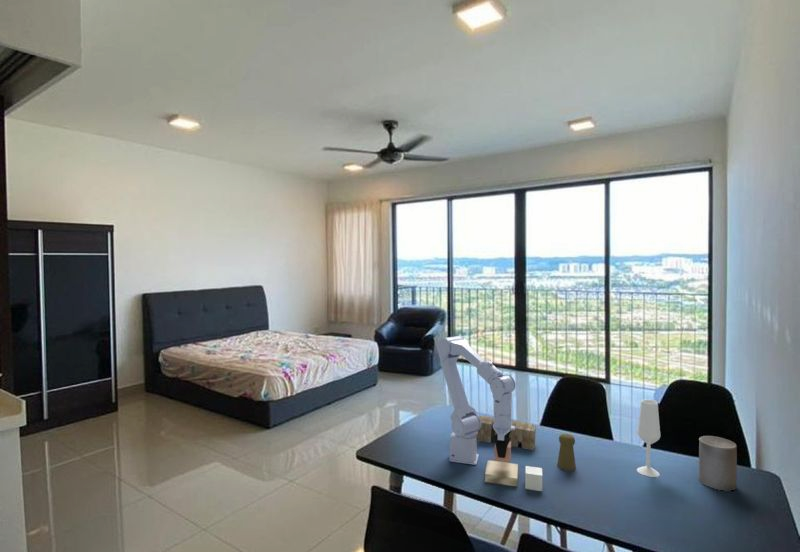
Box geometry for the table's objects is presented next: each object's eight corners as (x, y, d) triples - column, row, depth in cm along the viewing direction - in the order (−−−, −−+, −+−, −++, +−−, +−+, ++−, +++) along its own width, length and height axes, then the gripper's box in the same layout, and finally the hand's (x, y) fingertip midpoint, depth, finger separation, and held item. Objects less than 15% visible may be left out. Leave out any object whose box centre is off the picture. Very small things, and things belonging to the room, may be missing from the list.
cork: (577, 471, 143) (578, 439, 142) (558, 469, 144) (559, 437, 144) (574, 463, 149) (574, 432, 148) (555, 461, 150) (556, 430, 150)
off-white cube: (525, 489, 132) (525, 473, 131) (525, 481, 136) (525, 465, 136) (542, 491, 130) (542, 475, 130) (541, 483, 135) (541, 468, 135)
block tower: (535, 445, 166) (463, 430, 178) (536, 424, 165) (464, 411, 178) (533, 453, 159) (458, 437, 171) (534, 431, 158) (459, 417, 170)
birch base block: (484, 483, 136) (485, 473, 136) (487, 468, 145) (487, 460, 145) (517, 488, 133) (517, 478, 133) (517, 473, 142) (517, 464, 142)
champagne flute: (658, 469, 144) (659, 400, 143) (661, 478, 138) (662, 406, 137) (635, 465, 147) (637, 397, 146) (637, 474, 141) (638, 403, 140)
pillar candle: (729, 479, 138) (729, 433, 138) (742, 494, 129) (742, 445, 128) (694, 474, 141) (694, 430, 141) (704, 489, 132) (704, 441, 132)
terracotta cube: (494, 460, 137) (494, 445, 137) (495, 454, 142) (495, 439, 142) (510, 462, 136) (510, 447, 136) (510, 456, 141) (510, 441, 140)
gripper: (514, 421, 130) (513, 465, 131) (515, 406, 144) (515, 446, 145) (491, 419, 132) (490, 462, 133) (494, 404, 146) (494, 443, 147)
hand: (502, 453), depth 139 cm, fingers closed on terracotta cube, 5 cm apart
